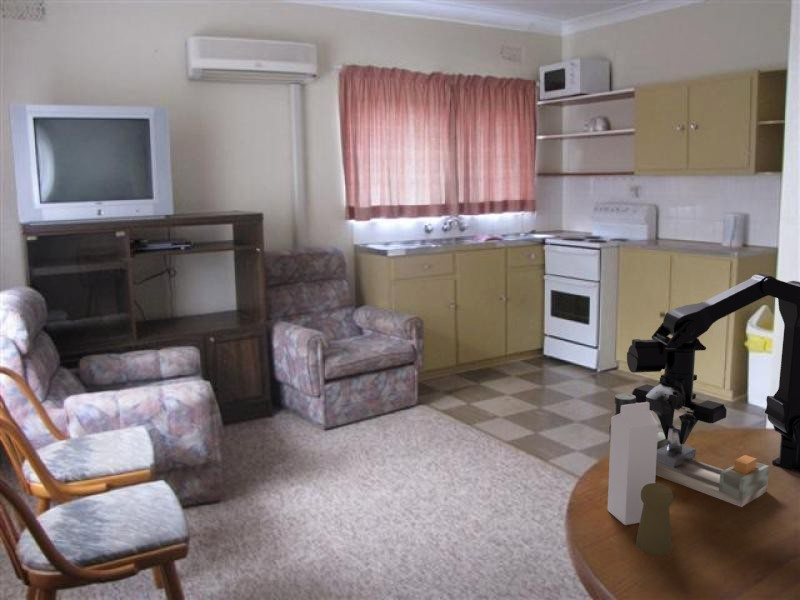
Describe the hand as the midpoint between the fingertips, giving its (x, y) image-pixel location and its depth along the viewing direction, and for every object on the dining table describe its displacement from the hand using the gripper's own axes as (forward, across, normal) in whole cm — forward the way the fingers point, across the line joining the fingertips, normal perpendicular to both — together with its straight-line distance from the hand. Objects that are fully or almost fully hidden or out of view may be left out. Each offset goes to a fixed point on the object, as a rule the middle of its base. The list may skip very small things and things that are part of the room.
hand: (675, 441), depth 154 cm
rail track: (+6, +5, 0) cm, 8 cm away
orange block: (+2, +15, 0) cm, 15 cm away
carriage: (+4, 0, 0) cm, 4 cm away
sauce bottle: (+7, -1, -16) cm, 17 cm away
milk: (+7, +6, -24) cm, 26 cm away
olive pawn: (+7, +15, -30) cm, 34 cm away
